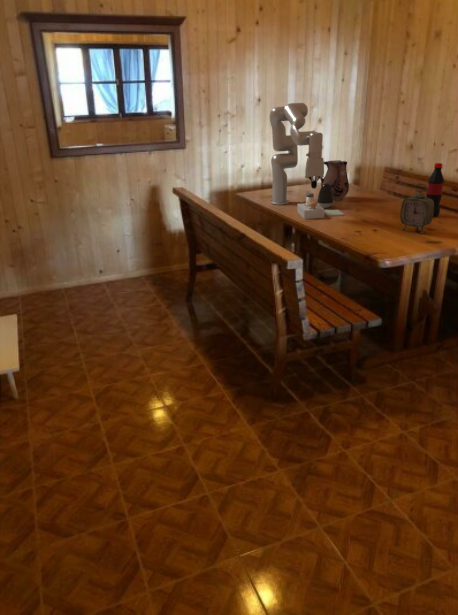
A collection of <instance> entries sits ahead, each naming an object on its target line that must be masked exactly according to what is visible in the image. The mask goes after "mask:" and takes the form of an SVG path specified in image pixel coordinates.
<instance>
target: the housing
mask: <svg viewBox="0 0 458 615" xmlns="http://www.w3.org/2000/svg"><path fill="white" fill-rule="evenodd" d="M325 210H326V208H322V207H321V206H320V205H319V204H318V203H317V206H315V209H311V207H306V202H305V203H297V213H298V214H299V215H300V216H301V217H302V219H304V220H307V219H308V220H309V219H311V220H312V219H325V215H326V214H325Z"/></svg>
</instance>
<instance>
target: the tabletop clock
mask: <svg viewBox="0 0 458 615" xmlns="http://www.w3.org/2000/svg"><path fill="white" fill-rule="evenodd" d="M416 186H424V187H425V190H422V189H421V188H419V189H417V188H416ZM413 189H414V190H415V191H416V193H415V194H414V195H413V196H410V197H407V198H404V199H403V200H402V203H401V206H400V207H401V208H400V216H399V217H400V222H401V224H403V225H404V226H402V228H401V230H402V231H405V230H406V228H407V226H408V227H412V228H415V231H419V230H420V228H421V230H420V231H421V232H420V233H421V234H422V235H424V234H425V231H424V227H426V226H428V225H430V224H431V222H432V220H433V218H434V217H433V213H434V202H433V200H432V199H430V198H427V196H426V195H425V194H424V192H427V189H428V185H426V184H424V183H419V182H418V183H416V184H415V185H414V187H413Z"/></svg>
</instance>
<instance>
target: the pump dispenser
mask: <svg viewBox="0 0 458 615" xmlns="http://www.w3.org/2000/svg"><path fill="white" fill-rule="evenodd" d="M334 186H335V185H331V186H330V185H329V184H328V183H325V184H323V185H322V187H321V186H320V189H319V191H318V196H317V201H316V202H317V204H319V205H320V206H321V207H322V208H323V209H330V208H331V207H332V206H333V204H334V201H335V200H334V197H333V191H332V187H334Z"/></svg>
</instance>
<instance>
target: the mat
mask: <svg viewBox="0 0 458 615" xmlns="http://www.w3.org/2000/svg"><path fill="white" fill-rule="evenodd" d="M324 215H325V216H327V217H339V216H340V217H341V216H343V217H345V214H344V212H342V211H341V210H339V209H328V210H327V209H325V214H324Z"/></svg>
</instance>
